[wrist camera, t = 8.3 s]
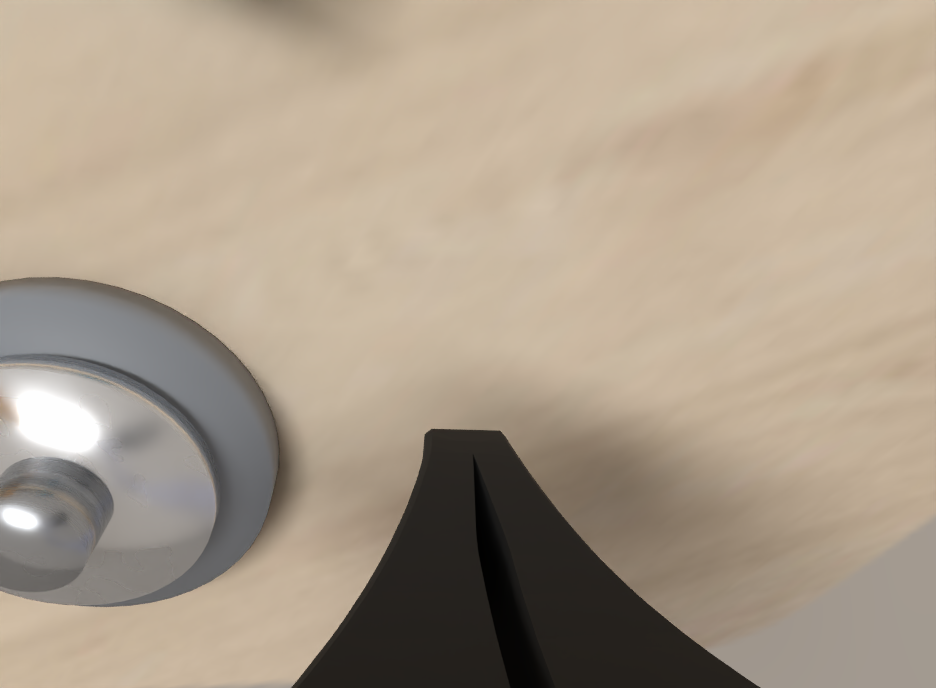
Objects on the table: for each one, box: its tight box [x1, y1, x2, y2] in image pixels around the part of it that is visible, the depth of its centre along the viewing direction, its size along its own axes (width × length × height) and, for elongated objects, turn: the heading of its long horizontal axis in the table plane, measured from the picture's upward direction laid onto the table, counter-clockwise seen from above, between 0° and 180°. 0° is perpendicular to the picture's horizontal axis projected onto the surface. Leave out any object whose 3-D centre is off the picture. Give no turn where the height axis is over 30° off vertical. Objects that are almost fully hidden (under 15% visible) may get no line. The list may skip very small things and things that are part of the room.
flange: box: [0, 354, 221, 605], centre depth 18 cm, size 11×9×4 cm
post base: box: [0, 277, 279, 607], centre depth 20 cm, size 12×12×4 cm
